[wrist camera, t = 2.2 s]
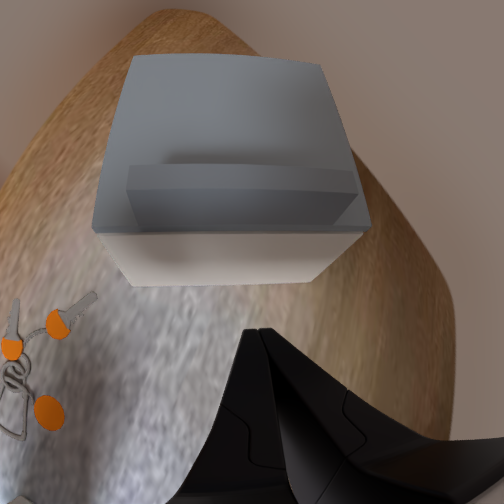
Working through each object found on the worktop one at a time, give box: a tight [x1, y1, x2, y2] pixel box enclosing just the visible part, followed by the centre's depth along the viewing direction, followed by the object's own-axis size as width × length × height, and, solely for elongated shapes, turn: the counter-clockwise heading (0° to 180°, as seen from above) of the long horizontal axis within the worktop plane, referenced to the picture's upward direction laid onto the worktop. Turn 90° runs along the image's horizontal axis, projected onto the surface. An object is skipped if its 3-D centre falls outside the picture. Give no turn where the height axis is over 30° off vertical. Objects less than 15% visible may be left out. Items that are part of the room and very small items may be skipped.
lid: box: [92, 54, 372, 233], centre depth 14 cm, size 12×12×3 cm
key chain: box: [0, 291, 98, 441], centre depth 16 cm, size 13×7×1 cm, turn 166°
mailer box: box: [98, 231, 363, 287], centre depth 19 cm, size 12×12×8 cm
